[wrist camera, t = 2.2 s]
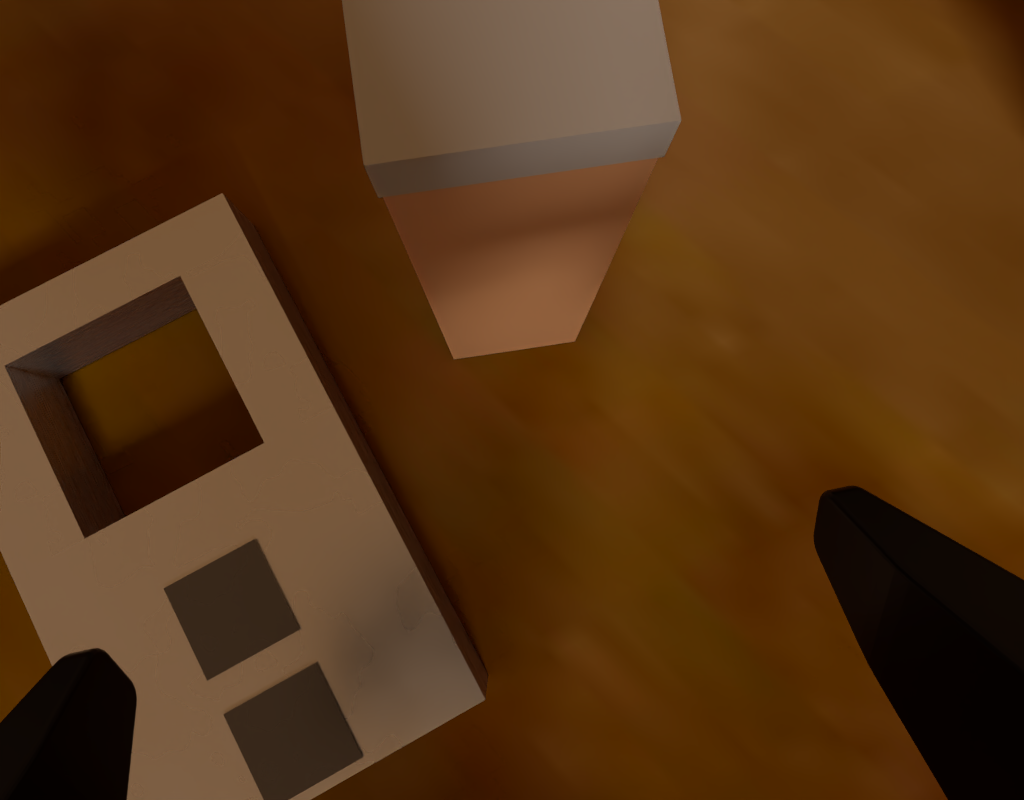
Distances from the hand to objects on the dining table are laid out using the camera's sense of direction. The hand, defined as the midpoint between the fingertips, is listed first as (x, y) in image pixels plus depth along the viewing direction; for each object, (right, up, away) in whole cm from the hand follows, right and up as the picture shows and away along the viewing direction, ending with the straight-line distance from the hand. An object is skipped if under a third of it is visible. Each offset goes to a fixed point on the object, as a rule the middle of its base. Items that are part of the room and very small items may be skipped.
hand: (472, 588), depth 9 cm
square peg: (0, +6, +14) cm, 16 cm away
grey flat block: (-9, -1, +13) cm, 16 cm away
